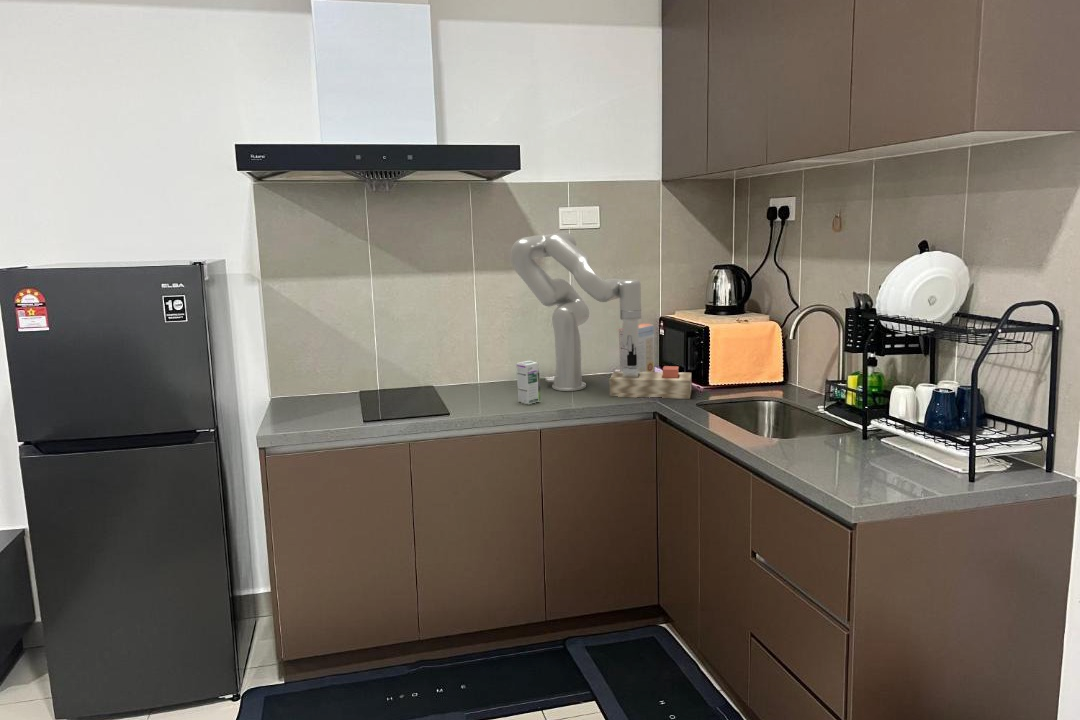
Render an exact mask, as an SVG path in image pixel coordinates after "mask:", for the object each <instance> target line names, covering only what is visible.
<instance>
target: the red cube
mask: <svg viewBox="0 0 1080 720" xmlns="http://www.w3.org/2000/svg"><path fill="white" fill-rule="evenodd" d="M679 368H680V367H679V366H677V365H675V366H672V365H670V366H669V365H664V366H663V367H662V372H663V378H679Z"/></svg>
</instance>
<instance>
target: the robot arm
mask: <svg viewBox="0 0 1080 720" xmlns="http://www.w3.org/2000/svg"><path fill="white" fill-rule="evenodd" d="M549 257H551V258H553V259H554V260H555V261H556V262H557V263H559V264H560V265H561V266H562V267H564V268H565V270H567V271H568V272H569V273H571V274H572V276H573V278H574V279H575V281H576V283H577V284H578V285H579V287H580V288H581V289H582V290H583V291H584V292H585V293H587V294H588V295H589V296H590V297H591V298H592V299H594V300H596V301H598V302H599V303H607V302H609V301H610V302H611V301H614V300H617V299H619V318H620V321H622V327H621V328H622V347H623V348H625V347H626V345H627V365H628V366H636V365H637V354H636V346H637V344H638V340H639V320H641V319H642V316H643V315H642V284H641V281H640V280H639V279H633V278H632V279H631V278H629V279H628V278H627V279H623V278H622V279H621V278H616V277H614V278H613V277H612V278H607V279H602V278H601V277H600V276H599V275H598V274H596V273H595V272H594V270H593V269H592V268H591V267H590V266H591V265H590V263H589V262H590V259H589V258H590V257H589V256H588V255H587V254H586V253H585V252H584V251H582V250H581V249H580V248H579V247H578V246H577V240H576V238H575V237H574V236H573V234H571V233H570V232H565V231H562V232H556V233H548V234H537V235H531V236H524V237H521V238H519V239H517V240H516V241H515V242H514V243H513V244H512V246H511V250H510V257H509V258H510V262H511V263H510V264H511V266H512V268H513V270H514V271H515V272H516V274H517V275H518V276H519V277H520V279H522V281H523V282H524V283H525V284H526V286H527V287H528V288H529V289H530V291H531V292H532V293H533V295H534V296H535V297H536V298H537V300H538V301H539V302H540V303H541V305H543V306H545V307H554V306H557V307H555V309H554V310H553V312H552V316H551V322H552V328H553V334H554V347H555V348H554V349H555V352H554V353H555V375H553V376H551V375H546V376H545V377H544V379H545V380H544V381H545V382H547V383H552V388H553V389H554V390H556V391H561V392H574V391H581V390H583V389H585V388H586V387H587V384H586V382H584V381H583V380H582V379H583V378H582V377H583V375H582V343H581V342H582V341H581V334H580V330H579V326H582V325H583V324H585V323H586V322H587V321H588V319H589V317H590V310H589V306H588V305H587V303H586V301H584V300H583V298H582V297H581V296H580V295H579V293H578V292H577V291H576V290H575V289H574V287H573V286H572V285H571V283H569V282H568V281H567V280H566V279H565V280H564V279H562V278H554V279H553V278H552V277H551V276H550V275H549V274H548V273H547V272H546V270H545V269H544V267H542V266H541V265H540V264H538V263H537V262H536V261H535V259H543V258H549Z"/></svg>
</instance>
